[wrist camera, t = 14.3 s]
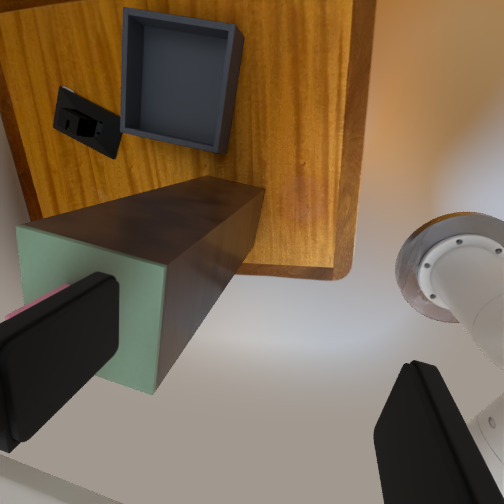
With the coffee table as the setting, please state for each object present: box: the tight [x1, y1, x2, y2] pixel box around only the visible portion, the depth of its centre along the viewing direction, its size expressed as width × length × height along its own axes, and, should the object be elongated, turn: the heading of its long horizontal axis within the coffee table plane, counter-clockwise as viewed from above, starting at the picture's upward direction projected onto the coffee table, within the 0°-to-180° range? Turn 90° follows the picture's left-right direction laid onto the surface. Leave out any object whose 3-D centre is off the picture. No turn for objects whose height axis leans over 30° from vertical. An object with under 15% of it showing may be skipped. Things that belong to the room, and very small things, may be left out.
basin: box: [120, 7, 244, 153], centre depth 43 cm, size 16×16×5 cm
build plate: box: [53, 86, 122, 159], centre depth 49 cm, size 12×7×5 cm, turn 65°
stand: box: [16, 176, 265, 395], centre depth 35 cm, size 10×10×34 cm
